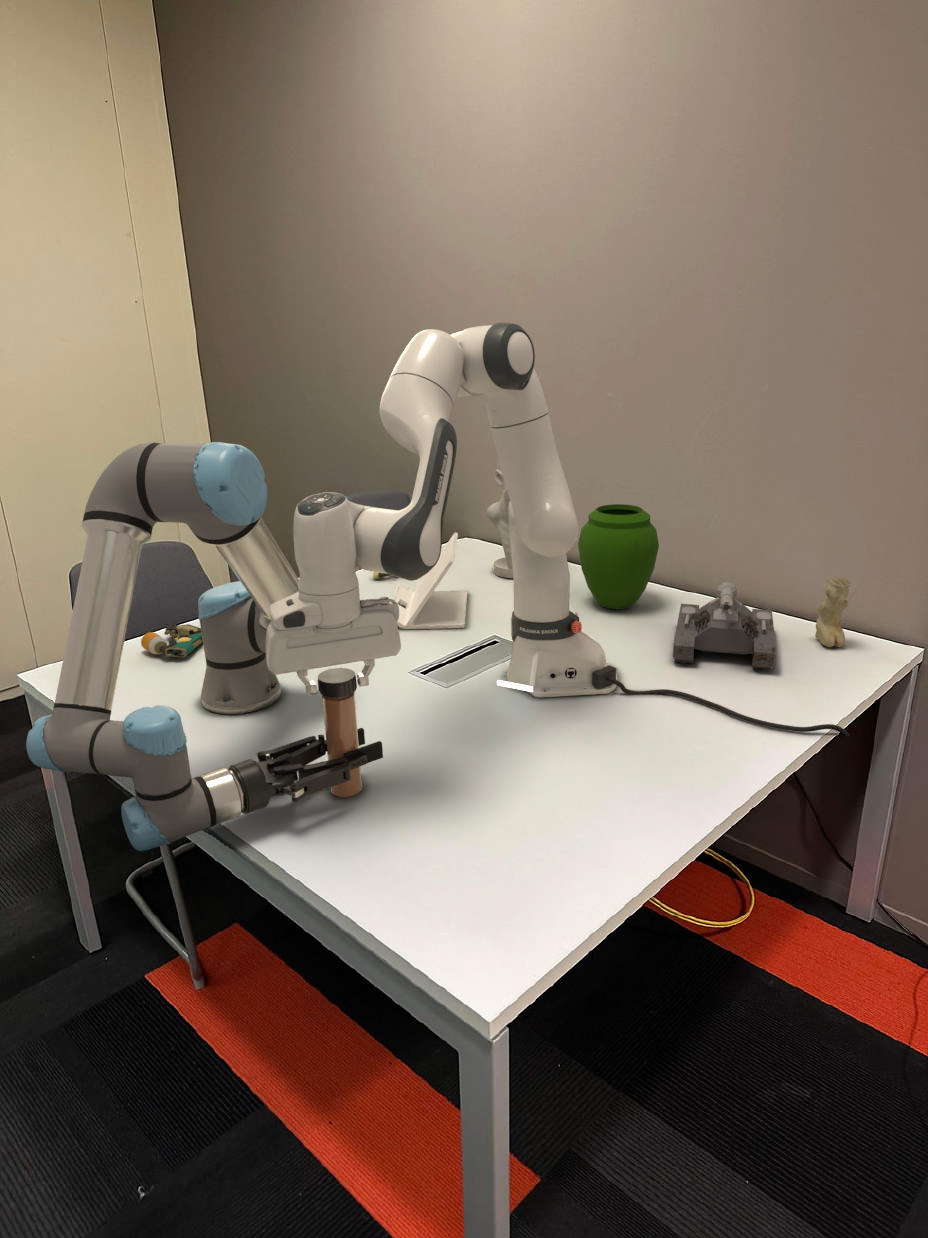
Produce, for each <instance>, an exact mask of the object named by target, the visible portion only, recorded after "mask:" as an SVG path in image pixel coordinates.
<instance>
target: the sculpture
mask: <svg viewBox="0 0 928 1238" xmlns="http://www.w3.org/2000/svg"><path fill="white" fill-rule="evenodd" d="M826 581H827V586H826V588H825V590H824V593H825V595H826V596H827V598H826V600H824V601H822V602H821V603H820V604H819V605H818V606H817V609H816V610H817V612H818V614H819V616H818V617H817V619H816V623H815V630H816V631H815V634H814V635H815V639H817V640H819V642H820V643H821V644H822V645H823V646H825V647H827V648H832V647H834V646H835V647H843V646H844V645H845V643H846V642H845V641H846V636H845V632H844V630H843V626H842V624H841V622H840V621H841V617H842V615H843V612H844V610H845V609H846V608H847V606H848V604H849V603H848V602H849V601H847V598H848V597H849V592H850V586H851V585H852V582H850V580H848V579H847V578H845V577H841V576H840V577H835V578H831V577H827V578H826Z"/></svg>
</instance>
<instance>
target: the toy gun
mask: <svg viewBox="0 0 928 1238" xmlns="http://www.w3.org/2000/svg"><path fill="white" fill-rule="evenodd" d="M372 576H373V579H374V580H377V579H382V578H386V577H387V578H388V577H391V576H392V575H389V574H385V573H379V572H374V571H372Z"/></svg>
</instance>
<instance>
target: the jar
mask: <svg viewBox="0 0 928 1238" xmlns="http://www.w3.org/2000/svg"><path fill="white" fill-rule="evenodd" d="M321 701H322V702H321V703H322V711H323V721H324V733H325V740H326V744H327V752H326V754H327V761H328V760H333V759H338V758H342V757H344V753H347V752H350V751H352V750H355V749H358V748H360V746H359V743H358V731H357V729H358V718H357V707H356V706H357V705H356V693H355V692H354V693H352V694H351V695H348V696H345V697H340V698H329V697H325V696H322V695H321ZM361 770H362V768H361V766H360V767H358V768H355V769H352V770H350V776H351V779H350V780H349V781H346V782H344V783H341V784H338V785H335V786H333V787H330V792H331V793H332V795H333V796H336V797H338V798H348V797H354V796H355V795H358V794H359V793H360V792H361V791H362V789H363V782H362V781H363V780H362V771H361Z"/></svg>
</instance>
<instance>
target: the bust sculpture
mask: <svg viewBox="0 0 928 1238" xmlns="http://www.w3.org/2000/svg"><path fill="white" fill-rule="evenodd" d="M494 480H495V482H496V484H497V486H498V487H501V488H502V494H501V497H500V499H499V501H496V502H494V503H492V504H491V505H490V506H488V508H487V509H486V513H485V514H486V517H487V518H488V519H489V520H490V522H491V523H492V524H493V526H494V527H495V529H496V532H497V534H498V537H499V540H500V542H501V546H502V548H503V553H504V557H502V558H498V559H496V560H495V561H494V562H493V573H494V574H495V575H496V576H497V577H500V578H506V579H513V566H512V556H511V545H510V532H509V513H508V507H509V502H510V498H509V495H508V492H507V488H506V485H505V482H504V479H503V476H502V473H501V470H500V466H499V462H498V460H497V461H496V468H495V471H494Z"/></svg>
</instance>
